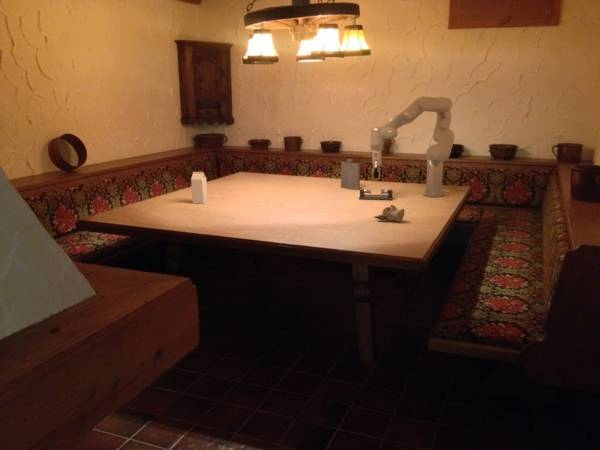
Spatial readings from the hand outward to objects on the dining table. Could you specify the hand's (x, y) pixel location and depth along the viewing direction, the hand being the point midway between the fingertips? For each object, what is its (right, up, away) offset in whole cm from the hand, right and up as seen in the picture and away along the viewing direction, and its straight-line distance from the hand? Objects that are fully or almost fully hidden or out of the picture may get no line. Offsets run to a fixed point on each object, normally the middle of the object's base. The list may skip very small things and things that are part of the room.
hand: (376, 177), depth 324 cm
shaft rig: (0, -13, +3) cm, 13 cm away
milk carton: (-108, -15, +3) cm, 109 cm away
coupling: (0, -1, 0) cm, 1 cm away
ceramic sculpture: (+1, -27, -49) cm, 56 cm away
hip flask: (-13, -5, +36) cm, 39 cm away
